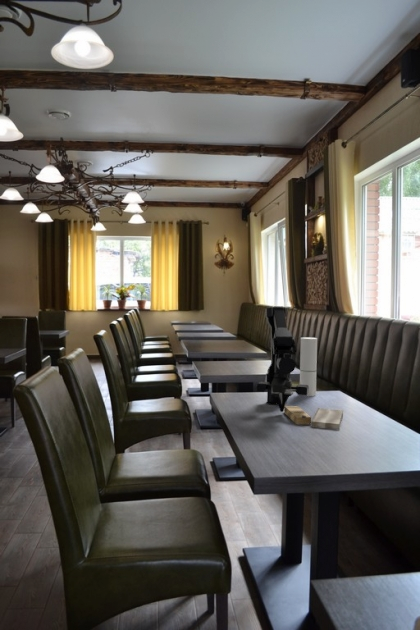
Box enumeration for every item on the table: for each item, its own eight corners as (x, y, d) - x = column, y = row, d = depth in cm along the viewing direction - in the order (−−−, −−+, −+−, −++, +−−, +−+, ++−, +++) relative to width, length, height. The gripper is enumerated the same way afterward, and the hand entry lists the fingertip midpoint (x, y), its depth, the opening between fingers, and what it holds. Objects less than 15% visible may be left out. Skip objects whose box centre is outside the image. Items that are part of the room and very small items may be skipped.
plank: (284, 412, 175) (284, 404, 175) (297, 412, 176) (297, 404, 176) (297, 424, 159) (297, 416, 158) (311, 424, 159) (311, 416, 159)
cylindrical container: (314, 393, 212) (316, 337, 211) (316, 396, 204) (318, 339, 203) (298, 392, 212) (300, 337, 211) (300, 395, 205) (301, 338, 204)
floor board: (311, 426, 157) (311, 421, 157) (317, 412, 176) (318, 407, 175) (339, 429, 154) (339, 423, 154) (342, 415, 173) (343, 410, 173)
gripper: (252, 370, 168) (251, 414, 168) (305, 374, 161) (304, 419, 162) (259, 366, 178) (259, 407, 179) (309, 369, 172) (308, 412, 172)
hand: (281, 411), depth 173 cm, fingers closed
